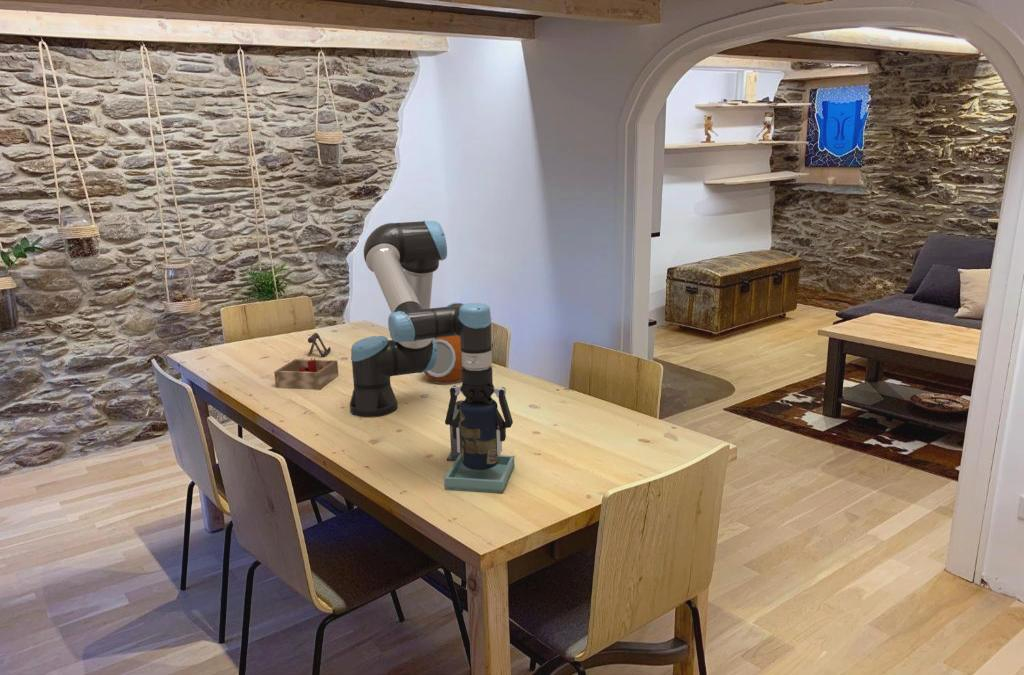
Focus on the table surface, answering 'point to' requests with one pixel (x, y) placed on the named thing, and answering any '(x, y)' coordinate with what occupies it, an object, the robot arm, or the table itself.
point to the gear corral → (306, 375)
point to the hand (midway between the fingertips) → (479, 451)
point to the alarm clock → (447, 361)
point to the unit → (454, 453)
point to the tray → (480, 476)
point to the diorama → (310, 367)
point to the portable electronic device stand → (313, 341)
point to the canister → (478, 435)
